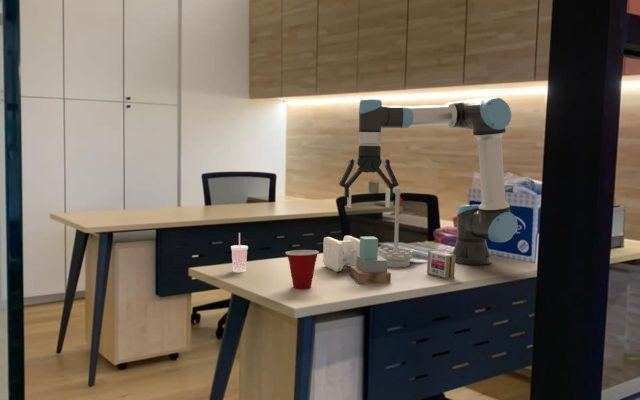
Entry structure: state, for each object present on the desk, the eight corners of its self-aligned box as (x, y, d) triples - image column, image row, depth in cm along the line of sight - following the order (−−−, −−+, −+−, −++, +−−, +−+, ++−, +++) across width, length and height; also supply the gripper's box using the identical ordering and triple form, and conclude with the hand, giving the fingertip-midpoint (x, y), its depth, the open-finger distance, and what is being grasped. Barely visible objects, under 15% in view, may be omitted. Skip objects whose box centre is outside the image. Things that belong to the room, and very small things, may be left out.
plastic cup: (305, 281, 208) (305, 246, 206) (324, 288, 199) (325, 251, 198) (278, 285, 201) (278, 249, 200) (297, 292, 192) (298, 255, 191)
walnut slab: (379, 276, 220) (379, 265, 220) (390, 284, 208) (390, 273, 207) (349, 276, 218) (350, 265, 218) (359, 285, 206) (359, 273, 205)
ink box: (426, 274, 223) (427, 251, 222) (433, 272, 225) (434, 250, 224) (447, 279, 215) (448, 255, 214) (455, 278, 217) (456, 254, 216)
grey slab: (378, 266, 218) (378, 255, 218) (387, 272, 209) (387, 260, 208) (356, 266, 217) (356, 255, 216) (364, 272, 207) (365, 260, 207)
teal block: (373, 256, 215) (373, 236, 215) (377, 259, 211) (378, 238, 210) (359, 256, 214) (360, 236, 214) (363, 259, 210) (364, 239, 209)
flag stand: (404, 268, 231) (406, 189, 228) (373, 264, 238) (375, 187, 235) (417, 263, 242) (420, 187, 239) (387, 259, 249) (389, 185, 246)
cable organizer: (363, 272, 224) (364, 240, 223) (336, 274, 220) (337, 242, 219) (346, 264, 238) (347, 234, 237) (321, 265, 234) (321, 235, 233)
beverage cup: (250, 271, 221) (250, 233, 220) (234, 273, 218) (234, 234, 217) (243, 268, 226) (243, 231, 225) (228, 270, 223) (228, 232, 222)
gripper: (401, 145, 214) (400, 205, 216) (331, 144, 210) (330, 206, 212) (408, 145, 207) (406, 208, 209) (335, 144, 203) (335, 208, 205)
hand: (368, 207), depth 211 cm, fingers open, 13 cm apart
